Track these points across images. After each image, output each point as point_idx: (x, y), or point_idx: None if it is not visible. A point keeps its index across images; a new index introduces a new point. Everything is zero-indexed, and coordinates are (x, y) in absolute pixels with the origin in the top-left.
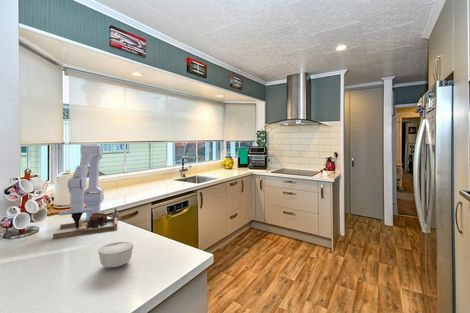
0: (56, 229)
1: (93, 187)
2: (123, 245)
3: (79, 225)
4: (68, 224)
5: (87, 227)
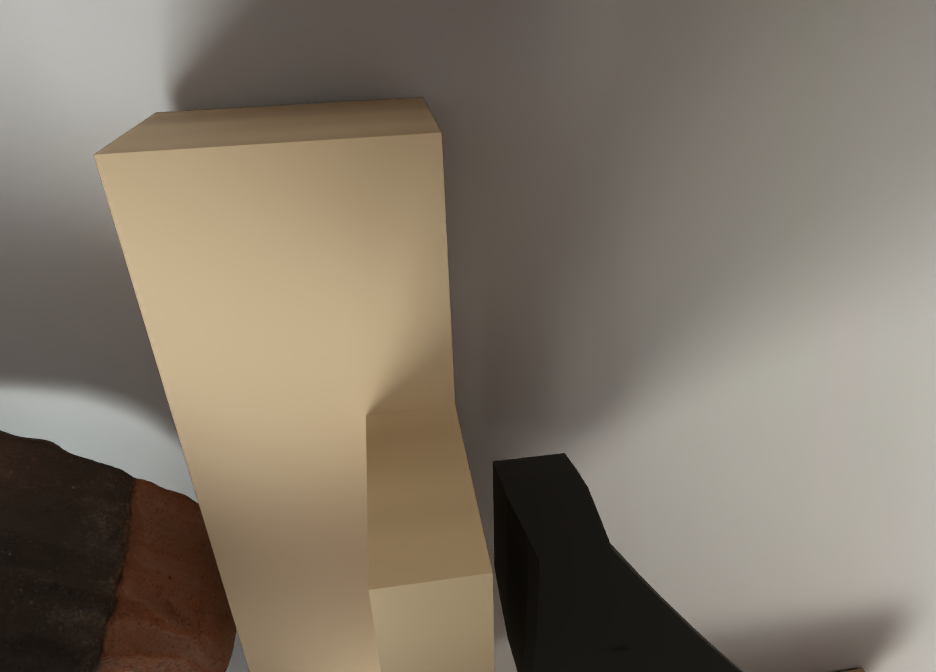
0: (924, 655)
1: None
2: None
3: (450, 456)
4: None
5: None
